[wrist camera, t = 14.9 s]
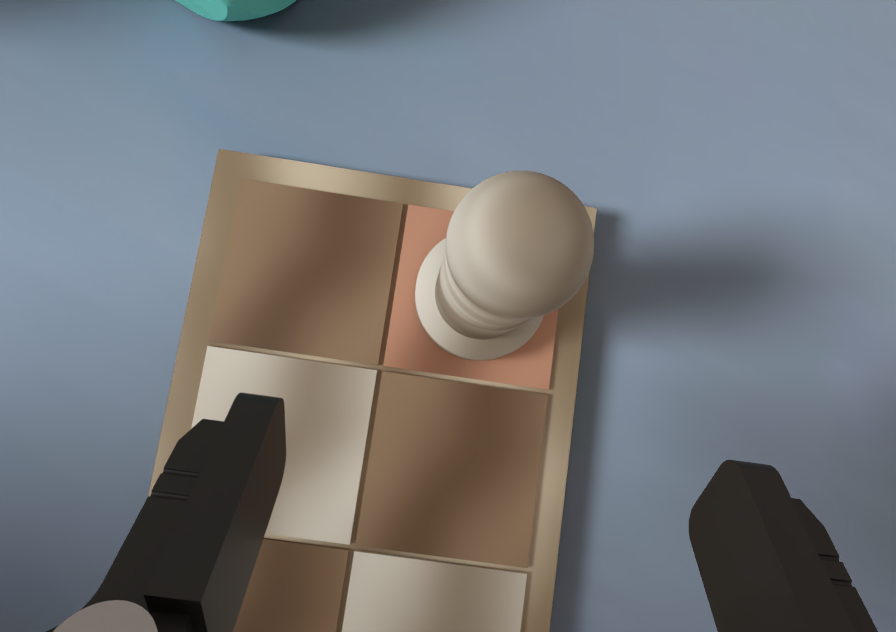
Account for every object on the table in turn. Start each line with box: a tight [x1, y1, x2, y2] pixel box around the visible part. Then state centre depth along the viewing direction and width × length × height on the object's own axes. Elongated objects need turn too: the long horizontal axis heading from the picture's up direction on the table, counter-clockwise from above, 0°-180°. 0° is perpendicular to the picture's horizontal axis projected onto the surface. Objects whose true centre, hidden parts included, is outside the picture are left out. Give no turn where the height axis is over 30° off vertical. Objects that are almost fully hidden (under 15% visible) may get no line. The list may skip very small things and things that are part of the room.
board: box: [148, 149, 597, 632], centre depth 22 cm, size 15×28×1 cm, turn 172°
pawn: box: [415, 171, 594, 361], centre depth 18 cm, size 5×5×10 cm
